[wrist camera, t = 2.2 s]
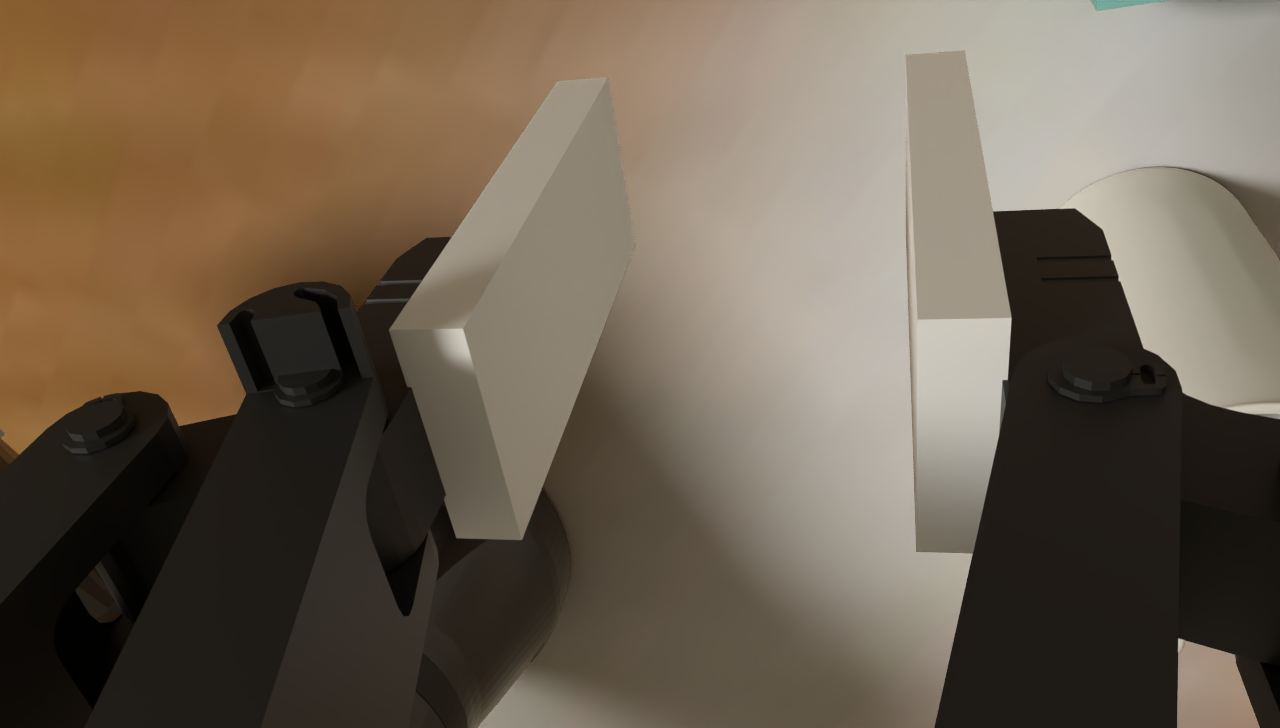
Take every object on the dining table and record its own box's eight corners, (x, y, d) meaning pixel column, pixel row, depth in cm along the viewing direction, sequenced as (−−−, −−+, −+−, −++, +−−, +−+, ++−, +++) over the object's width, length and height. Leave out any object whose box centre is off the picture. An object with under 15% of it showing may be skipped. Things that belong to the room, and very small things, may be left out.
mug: (1050, 146, 31) (1122, 387, 22) (1295, 164, 30) (1485, 425, 21) (985, 414, 37) (1019, 697, 28) (1189, 437, 36) (1298, 739, 27)
